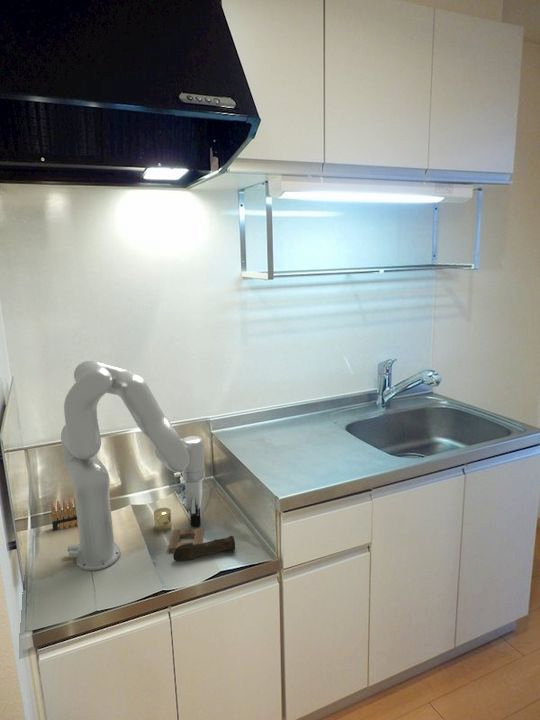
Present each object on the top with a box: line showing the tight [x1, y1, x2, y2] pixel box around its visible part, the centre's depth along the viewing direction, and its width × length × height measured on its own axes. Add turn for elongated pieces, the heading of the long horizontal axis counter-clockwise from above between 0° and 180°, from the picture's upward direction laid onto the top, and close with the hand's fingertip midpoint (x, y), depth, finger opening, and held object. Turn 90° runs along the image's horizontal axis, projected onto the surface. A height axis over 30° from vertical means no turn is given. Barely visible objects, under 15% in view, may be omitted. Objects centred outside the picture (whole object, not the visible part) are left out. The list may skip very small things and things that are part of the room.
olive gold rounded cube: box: [153, 507, 173, 533], centre depth 154 cm, size 6×6×6 cm
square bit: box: [189, 505, 203, 526], centre depth 157 cm, size 3×3×7 cm
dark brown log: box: [172, 535, 236, 562], centre depth 140 cm, size 19×4×5 cm, turn 106°
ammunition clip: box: [50, 497, 78, 532], centre depth 154 cm, size 11×2×12 cm, turn 113°
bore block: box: [168, 527, 205, 554], centre depth 146 cm, size 10×10×2 cm
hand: (196, 521), depth 157 cm, fingers open, 3 cm apart
